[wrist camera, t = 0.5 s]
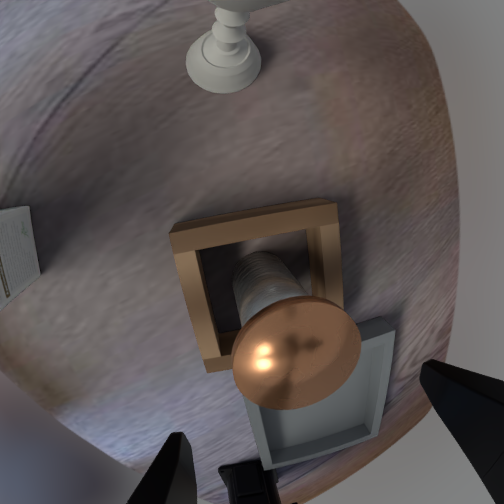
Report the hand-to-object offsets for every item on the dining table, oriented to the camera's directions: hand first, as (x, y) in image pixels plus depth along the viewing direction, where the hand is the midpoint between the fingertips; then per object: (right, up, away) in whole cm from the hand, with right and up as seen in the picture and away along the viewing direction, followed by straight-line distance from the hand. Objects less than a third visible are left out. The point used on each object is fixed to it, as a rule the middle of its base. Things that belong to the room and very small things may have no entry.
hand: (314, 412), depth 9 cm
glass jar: (-2, +3, +12) cm, 13 cm away
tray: (+4, -9, +16) cm, 19 cm away
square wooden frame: (-2, +3, +12) cm, 13 cm away
